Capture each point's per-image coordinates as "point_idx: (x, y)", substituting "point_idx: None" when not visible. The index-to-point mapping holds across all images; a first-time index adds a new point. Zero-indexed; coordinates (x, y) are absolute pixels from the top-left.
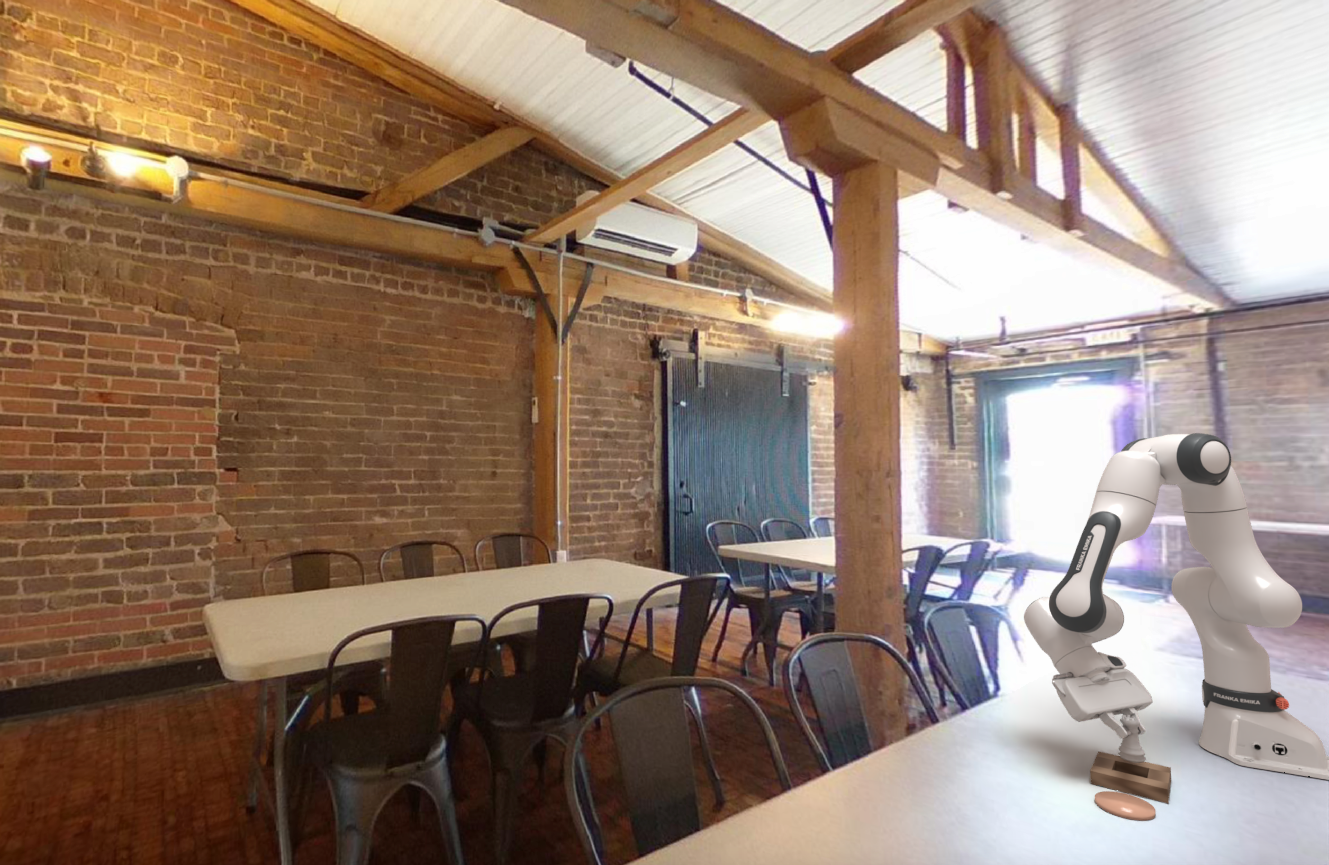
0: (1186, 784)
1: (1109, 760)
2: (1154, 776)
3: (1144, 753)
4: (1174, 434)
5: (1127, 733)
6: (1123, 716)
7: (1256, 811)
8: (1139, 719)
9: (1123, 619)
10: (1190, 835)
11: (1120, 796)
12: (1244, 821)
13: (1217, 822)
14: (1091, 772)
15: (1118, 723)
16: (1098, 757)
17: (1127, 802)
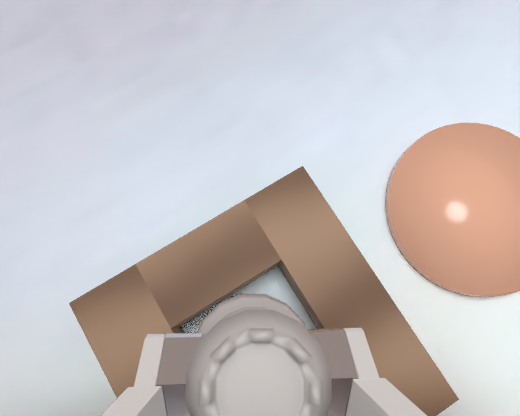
0: (71, 262)
1: None
2: (234, 262)
3: (227, 303)
4: None
5: (341, 331)
6: None
7: (77, 61)
8: (113, 404)
9: None
10: (426, 38)
11: (449, 244)
12: (187, 37)
13: (272, 58)
14: (452, 392)
15: (386, 393)
16: None
17: (463, 205)
